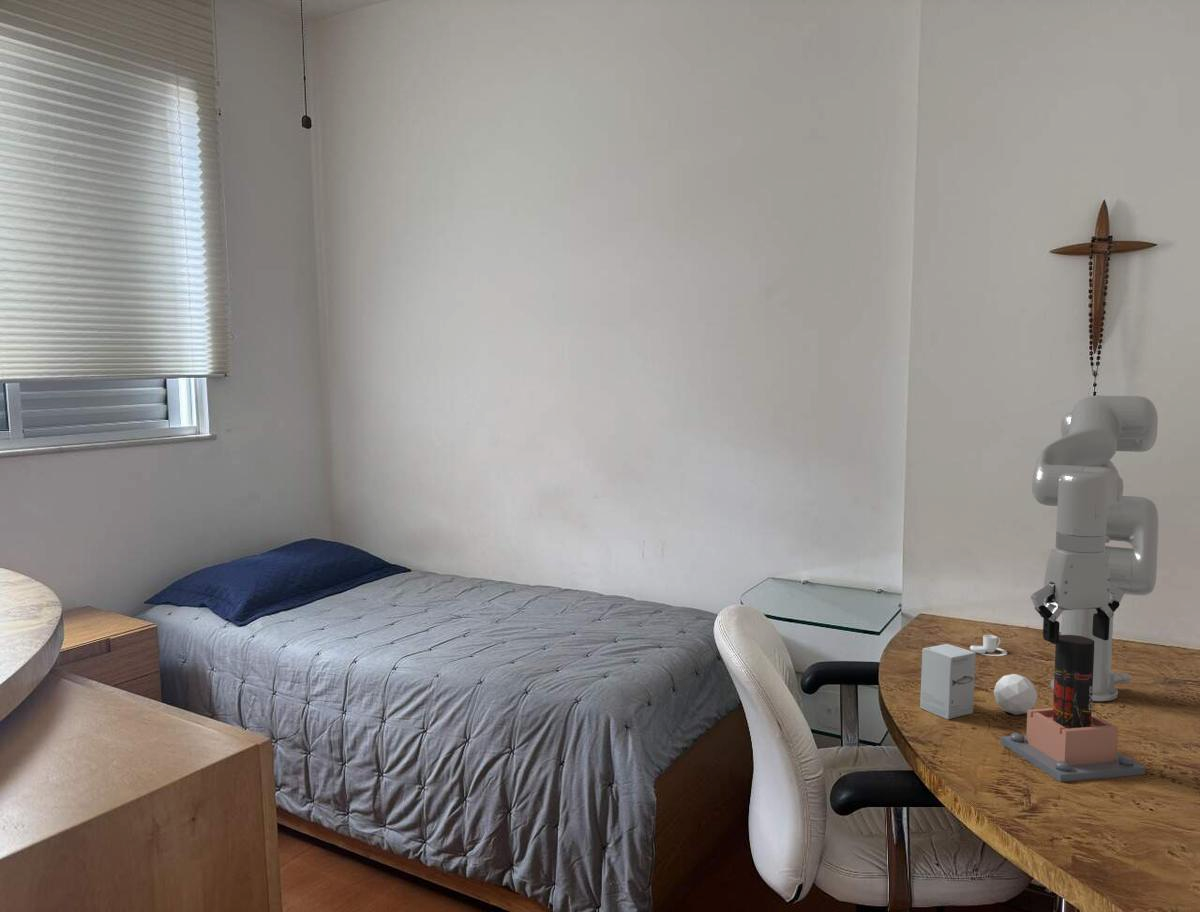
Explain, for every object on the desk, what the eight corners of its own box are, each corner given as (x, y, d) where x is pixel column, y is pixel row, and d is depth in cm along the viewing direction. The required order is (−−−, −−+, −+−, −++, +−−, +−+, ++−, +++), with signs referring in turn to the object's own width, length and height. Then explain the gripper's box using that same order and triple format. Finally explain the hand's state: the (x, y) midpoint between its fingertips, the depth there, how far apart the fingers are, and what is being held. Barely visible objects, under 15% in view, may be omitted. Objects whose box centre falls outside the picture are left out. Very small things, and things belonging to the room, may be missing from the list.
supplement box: (948, 720, 173) (950, 657, 171) (918, 708, 179) (920, 647, 178) (974, 714, 176) (977, 652, 175) (944, 702, 182) (946, 642, 181)
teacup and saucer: (971, 656, 214) (972, 639, 214) (965, 646, 222) (966, 630, 221) (1010, 659, 212) (1011, 642, 212) (1003, 649, 220) (1003, 633, 219)
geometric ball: (1018, 723, 178) (1041, 690, 179) (1025, 723, 171) (1048, 689, 172) (983, 699, 181) (1005, 667, 182) (988, 698, 174) (1011, 664, 175)
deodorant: (1052, 714, 159) (1055, 633, 158) (1090, 720, 156) (1093, 637, 155) (1052, 726, 154) (1056, 641, 153) (1091, 732, 151) (1095, 646, 150)
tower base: (1078, 736, 165) (1079, 699, 164) (1145, 774, 149) (1147, 733, 148) (1000, 742, 162) (1002, 704, 161) (1060, 781, 146) (1062, 739, 146)
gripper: (1108, 537, 157) (1103, 630, 159) (1021, 541, 154) (1017, 636, 156) (1141, 545, 150) (1135, 643, 152) (1049, 550, 147) (1045, 650, 149)
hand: (1075, 639), depth 154 cm, fingers open, 9 cm apart
